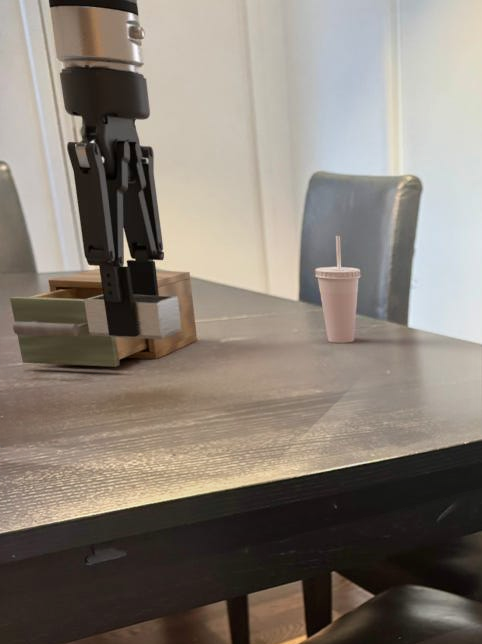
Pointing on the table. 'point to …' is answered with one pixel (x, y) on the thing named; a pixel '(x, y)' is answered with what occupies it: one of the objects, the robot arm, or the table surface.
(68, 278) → the cabinet
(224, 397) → the table surface
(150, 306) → the grey rectangular box
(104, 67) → the robot arm
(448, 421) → the table surface
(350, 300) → the smoothie
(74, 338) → the drawer
